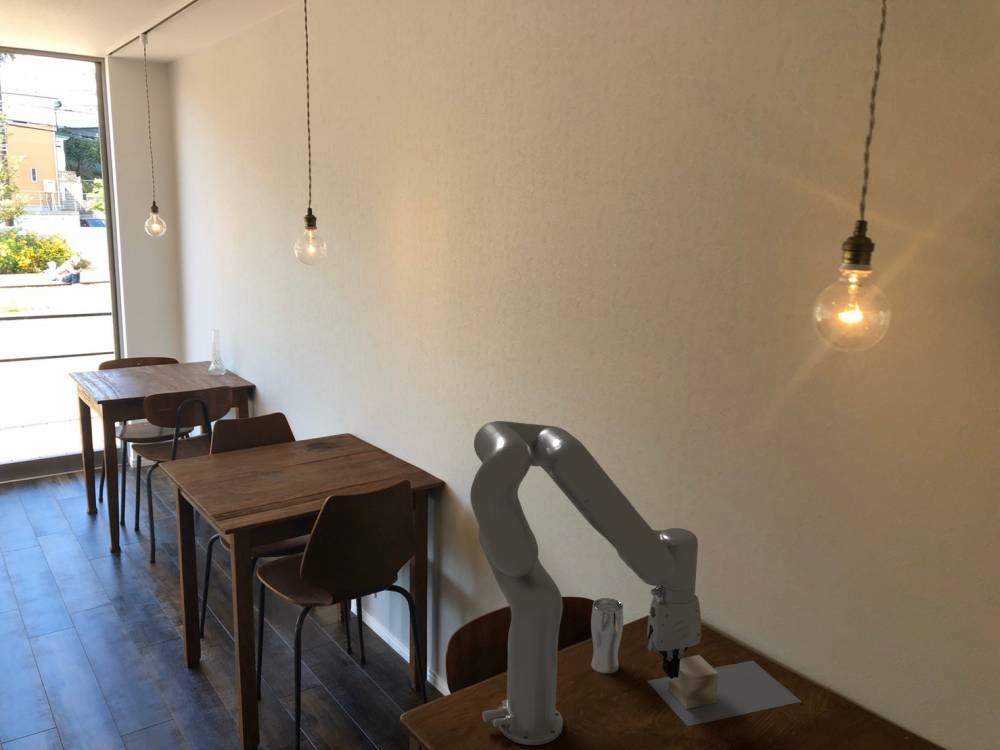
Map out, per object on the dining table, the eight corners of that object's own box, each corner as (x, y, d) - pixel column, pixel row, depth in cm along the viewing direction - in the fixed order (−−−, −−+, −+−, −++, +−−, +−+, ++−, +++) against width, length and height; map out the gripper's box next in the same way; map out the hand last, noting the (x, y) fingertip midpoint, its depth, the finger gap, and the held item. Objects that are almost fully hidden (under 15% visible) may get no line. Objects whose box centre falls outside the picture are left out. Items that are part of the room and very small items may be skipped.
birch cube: (686, 710, 156) (688, 678, 155) (668, 690, 163) (670, 660, 161) (715, 704, 158) (718, 672, 157) (696, 684, 165) (699, 654, 163)
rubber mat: (687, 728, 151) (687, 726, 151) (646, 682, 166) (646, 680, 166) (801, 703, 160) (801, 701, 160) (752, 662, 175) (753, 660, 175)
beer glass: (627, 670, 171) (630, 607, 168) (603, 680, 167) (606, 615, 164) (606, 655, 176) (609, 594, 173) (582, 664, 172) (585, 602, 170)
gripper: (651, 605, 148) (647, 691, 152) (718, 594, 153) (712, 678, 156) (632, 587, 155) (629, 670, 159) (697, 577, 160) (692, 658, 163)
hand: (670, 674), depth 157 cm, fingers closed
